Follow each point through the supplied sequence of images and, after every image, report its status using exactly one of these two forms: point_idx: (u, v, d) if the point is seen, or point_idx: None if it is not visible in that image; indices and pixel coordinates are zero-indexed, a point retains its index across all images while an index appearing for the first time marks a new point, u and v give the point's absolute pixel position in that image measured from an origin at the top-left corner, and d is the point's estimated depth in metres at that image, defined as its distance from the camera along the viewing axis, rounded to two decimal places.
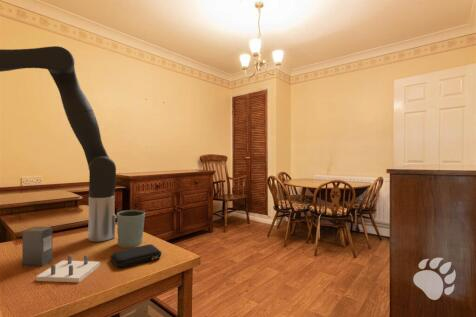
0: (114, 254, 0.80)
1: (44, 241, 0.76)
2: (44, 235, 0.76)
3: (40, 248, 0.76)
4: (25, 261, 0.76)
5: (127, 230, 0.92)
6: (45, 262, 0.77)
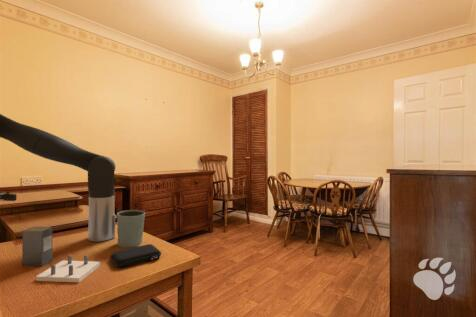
0: (114, 254, 0.81)
1: (44, 241, 0.76)
2: (44, 235, 0.76)
3: (40, 248, 0.76)
4: (25, 261, 0.76)
5: (127, 230, 0.92)
6: (45, 262, 0.77)
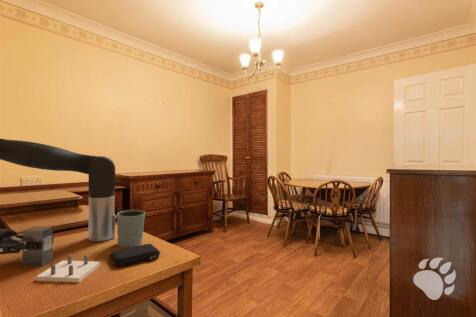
0: (113, 253, 0.81)
1: (44, 241, 0.76)
2: (44, 235, 0.76)
3: None
4: (25, 261, 0.76)
5: (127, 230, 0.92)
6: (45, 262, 0.77)
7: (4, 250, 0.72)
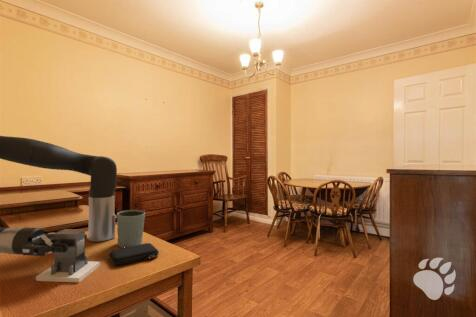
0: (112, 252, 0.82)
1: (78, 245, 0.71)
2: (77, 238, 0.71)
3: (74, 252, 0.70)
4: (57, 267, 0.71)
5: (127, 230, 0.92)
6: (78, 268, 0.72)
7: (30, 251, 0.66)
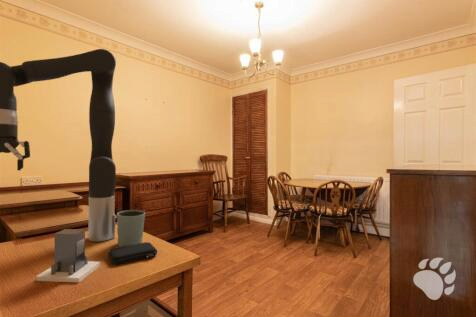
0: (111, 251, 0.83)
1: (78, 245, 0.71)
2: (77, 238, 0.71)
3: (74, 252, 0.70)
4: (57, 267, 0.71)
5: (127, 230, 0.92)
6: (78, 268, 0.72)
7: None
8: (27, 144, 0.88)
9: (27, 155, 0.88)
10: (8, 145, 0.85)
